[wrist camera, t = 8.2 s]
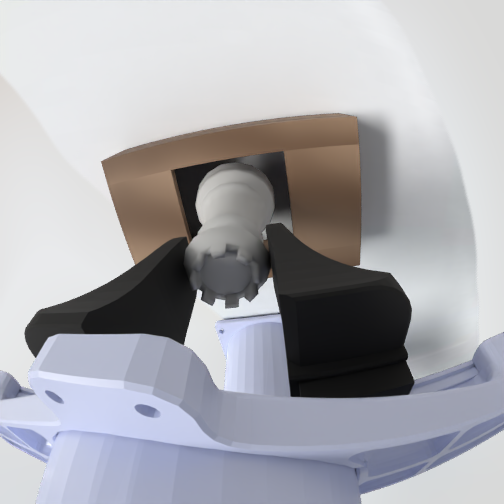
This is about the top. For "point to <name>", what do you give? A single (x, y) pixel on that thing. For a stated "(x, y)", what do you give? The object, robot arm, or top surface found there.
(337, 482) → the robot arm
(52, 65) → the top surface
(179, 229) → the brown wooden hollow block
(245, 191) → the rook chess piece
